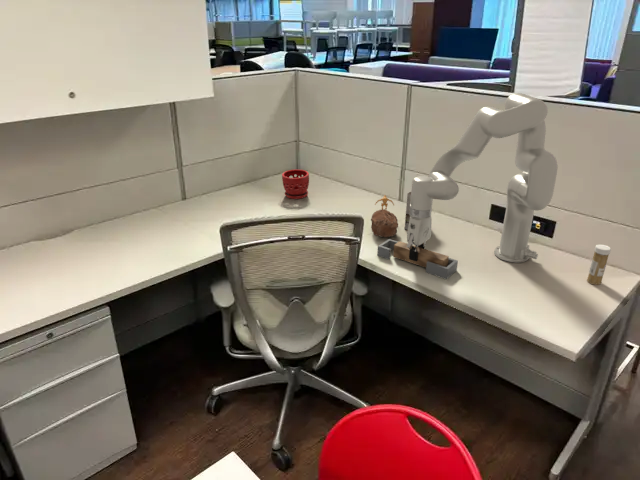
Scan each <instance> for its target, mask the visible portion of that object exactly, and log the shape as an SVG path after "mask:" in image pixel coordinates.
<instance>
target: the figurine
mask: <svg viewBox="0 0 640 480" xmlns="http://www.w3.org/2000/svg"><path fill="white" fill-rule="evenodd" d="M379 202H381V209H384V207H385V210H387V207H388V206H389V205H388V202H391V203H392V206H395V203H394V202H393V200H391V199H389V198H388V197H387V195H386V194H384V195H383V197H382V198H380V199H378V200H377V201H375V204H374V205H375V206H376V205H377V204H378V203H379Z"/></svg>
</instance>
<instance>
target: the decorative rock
mask: <svg viewBox="0 0 640 480" xmlns="http://www.w3.org/2000/svg"><path fill="white" fill-rule="evenodd" d="M370 221H371V227H370V228H371V231H372V233H373V235H374V236H377V237H381V238H390V237H391V238H392V237H395V236H396V235H397V233H398V227H399V223H398V221H399V220H398V218H397V216H396V215H395V214H394V213H392V212H390V211H389V210H387V209H386V210H385V209H384V208H383V209H382V208H381V209H379V210H376V211H374V212H373V214H372V215H371V219H370Z"/></svg>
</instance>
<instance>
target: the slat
mask: <svg viewBox="0 0 640 480" xmlns="http://www.w3.org/2000/svg"><path fill="white" fill-rule="evenodd" d="M407 244H408V242H403V241H401V240H400V241H398V243H396V244H395V245H394V251H393V254H392V255H393V257H392V258H395V259H399V260H401V261H405V262H408V263H410V264H414V265H417V266H420V267H423V268H426V265H427V262H428V261H429V262H432V263H435V264H438V265H441V266H444V267H447V266H448V259H449V258H450V256H449V255H446V254H444V253H443V254H442V253H439V252H436V251H433V250H429V249H427V248H426V249H423V248H420V247H418V250H417V251H418V260H417V261H413V260H410V259H409V252H410V250H409V248H408V247H407ZM412 246H414V247H415V245H412Z"/></svg>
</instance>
